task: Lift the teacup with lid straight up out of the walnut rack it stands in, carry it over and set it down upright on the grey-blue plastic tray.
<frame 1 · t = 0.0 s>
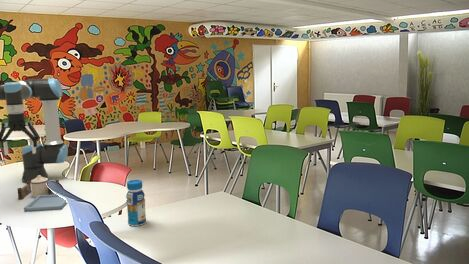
hand: (20, 153, 205), 28 cm above the table, fingers open, 13 cm apart
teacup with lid: (39, 195, 227), resting in walnut rack
walnut rack: (39, 194, 227), on the table
beverage bottle: (137, 223, 183), on the table
tray: (49, 204, 211), on the table
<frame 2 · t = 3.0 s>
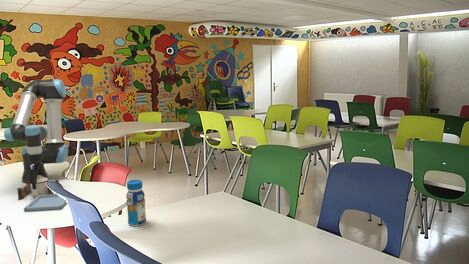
hand: (39, 192, 225), 2 cm above the table, fingers open, 9 cm apart
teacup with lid: (40, 195, 227), resting in walnut rack, touching gripper
everything else where it was.
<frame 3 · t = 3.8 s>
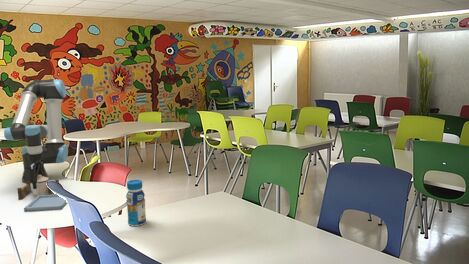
hand: (39, 191, 226), 2 cm above the table, fingers closed on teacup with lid, 9 cm apart
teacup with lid: (40, 194, 228), resting in walnut rack, touching gripper
everything else where it was.
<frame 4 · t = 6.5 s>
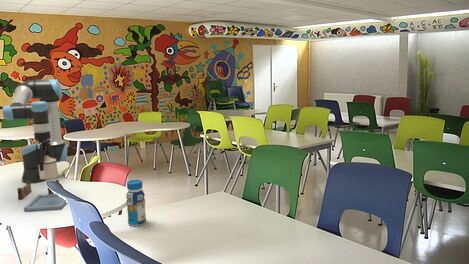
hand: (46, 173, 208), 17 cm above the table, fingers closed on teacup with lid, 9 cm apart
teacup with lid: (47, 177, 210), point 14 cm above the table, touching gripper
everything else where it was.
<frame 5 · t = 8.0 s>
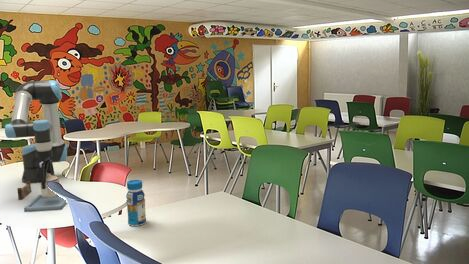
hand: (48, 191, 210), 7 cm above the table, fingers closed on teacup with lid, 9 cm apart
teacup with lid: (49, 194, 211), point 5 cm above the table, touching gripper
everything else where it was.
when the fingers open (4 cm above the table, at t = 9.2 s): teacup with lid stays where it is, resting on tray.
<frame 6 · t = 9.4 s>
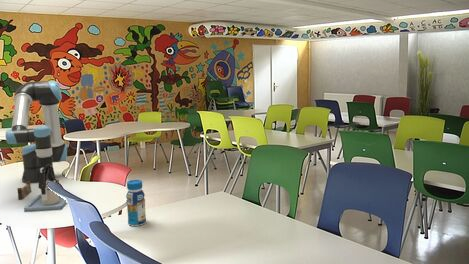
hand: (48, 196, 210), 4 cm above the table, fingers open, 11 cm apart
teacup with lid: (50, 202, 212), point 1 cm above the table, touching tray
everything else where it was.
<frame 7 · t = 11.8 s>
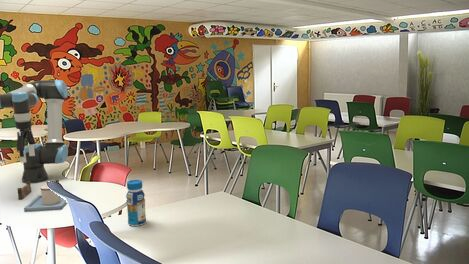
hand: (27, 159, 217), 22 cm above the table, fingers open, 13 cm apart
nothing on the table moved.
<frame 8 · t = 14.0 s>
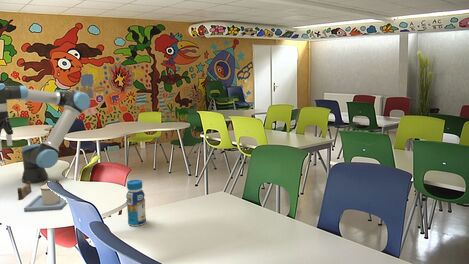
hand: (4, 148, 227), 27 cm above the table, fingers open, 13 cm apart
nothing on the table moved.
at the end: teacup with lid inside the target area on the tray (0.9 cm from its centre), point 0.6 cm above the tray's base; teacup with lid tilted 0°; the gripper is holding nothing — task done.
